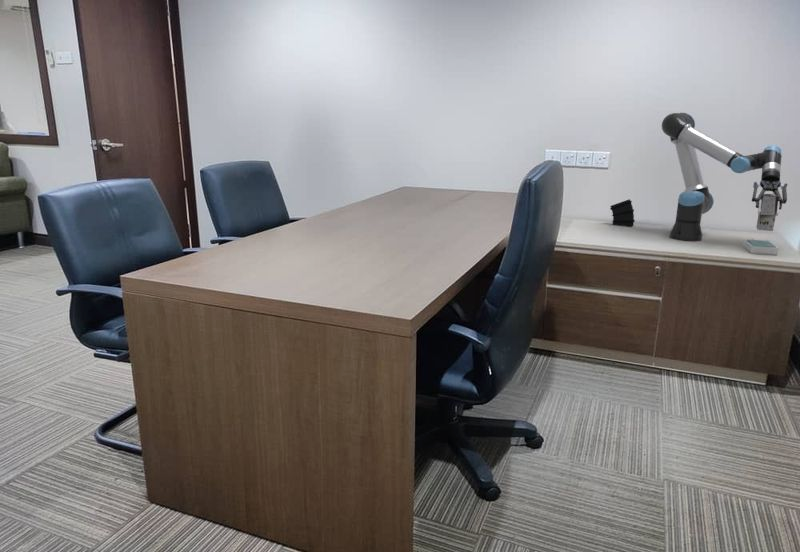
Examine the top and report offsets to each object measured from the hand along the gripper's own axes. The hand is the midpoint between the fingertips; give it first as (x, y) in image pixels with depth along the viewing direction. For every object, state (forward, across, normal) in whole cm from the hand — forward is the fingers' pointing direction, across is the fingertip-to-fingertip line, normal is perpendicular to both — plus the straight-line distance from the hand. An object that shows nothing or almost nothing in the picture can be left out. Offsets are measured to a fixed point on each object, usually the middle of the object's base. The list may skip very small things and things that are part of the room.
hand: (768, 213), depth 272 cm
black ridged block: (-14, +66, -40) cm, 79 cm away
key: (+9, 0, -14) cm, 17 cm away
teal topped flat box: (+11, 0, -16) cm, 19 cm away
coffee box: (+3, 0, -8) cm, 9 cm away
